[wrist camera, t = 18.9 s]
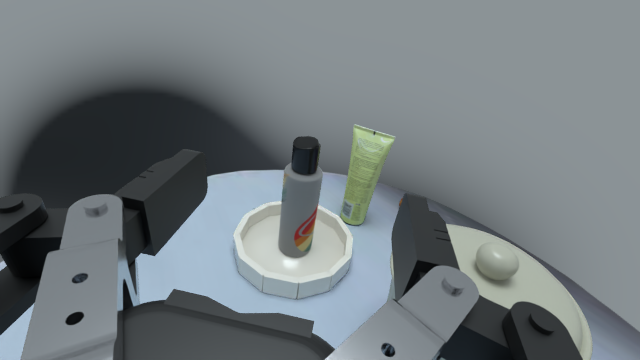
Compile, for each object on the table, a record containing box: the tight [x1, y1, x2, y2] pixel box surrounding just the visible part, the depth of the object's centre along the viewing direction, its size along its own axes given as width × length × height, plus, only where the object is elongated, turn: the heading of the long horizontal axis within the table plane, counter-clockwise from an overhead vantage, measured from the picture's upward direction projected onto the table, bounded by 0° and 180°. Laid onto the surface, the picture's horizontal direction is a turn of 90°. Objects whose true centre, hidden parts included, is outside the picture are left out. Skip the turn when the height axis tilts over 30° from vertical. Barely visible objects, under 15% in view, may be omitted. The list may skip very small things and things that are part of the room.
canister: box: [387, 224, 592, 360], centre depth 33 cm, size 18×18×21 cm
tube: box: [341, 125, 395, 225], centre depth 58 cm, size 6×5×20 cm
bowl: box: [233, 201, 353, 299], centre depth 52 cm, size 19×19×4 cm
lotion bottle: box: [278, 136, 323, 258], centre depth 48 cm, size 6×6×20 cm
